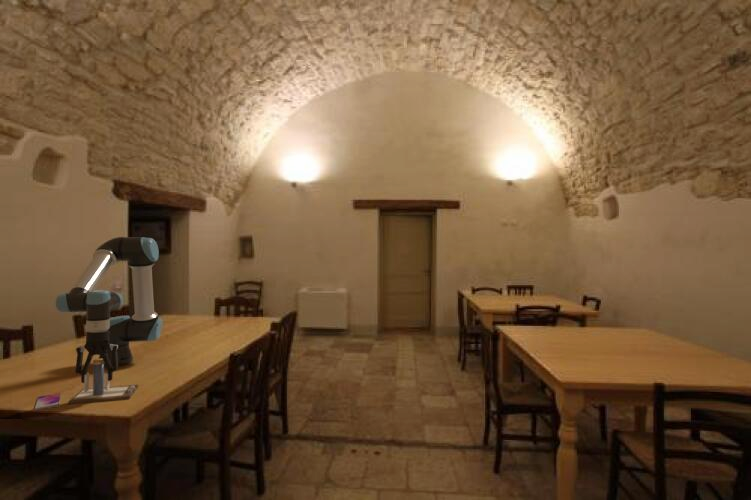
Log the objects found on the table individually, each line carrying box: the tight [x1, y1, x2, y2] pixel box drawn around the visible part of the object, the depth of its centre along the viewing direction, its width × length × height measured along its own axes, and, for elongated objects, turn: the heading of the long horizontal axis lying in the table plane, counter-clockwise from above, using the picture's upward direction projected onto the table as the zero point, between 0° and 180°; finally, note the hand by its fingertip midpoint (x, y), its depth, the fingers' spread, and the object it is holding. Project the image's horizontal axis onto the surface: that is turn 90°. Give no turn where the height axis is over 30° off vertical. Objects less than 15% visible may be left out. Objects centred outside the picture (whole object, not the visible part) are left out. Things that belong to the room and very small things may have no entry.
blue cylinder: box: [92, 358, 105, 396], centre depth 157 cm, size 4×4×14 cm
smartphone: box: [33, 392, 62, 411], centre depth 152 cm, size 7×1×15 cm
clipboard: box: [67, 384, 139, 405], centre depth 160 cm, size 14×20×2 cm
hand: (96, 389), depth 156 cm, fingers open, 6 cm apart
